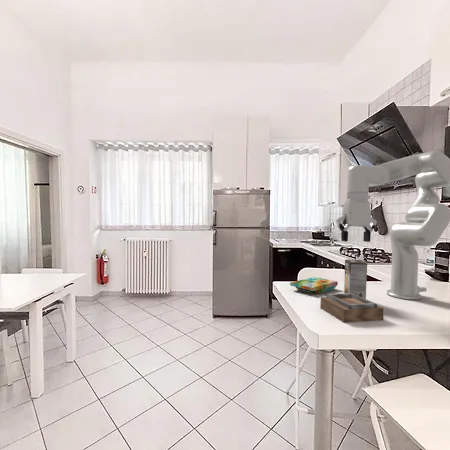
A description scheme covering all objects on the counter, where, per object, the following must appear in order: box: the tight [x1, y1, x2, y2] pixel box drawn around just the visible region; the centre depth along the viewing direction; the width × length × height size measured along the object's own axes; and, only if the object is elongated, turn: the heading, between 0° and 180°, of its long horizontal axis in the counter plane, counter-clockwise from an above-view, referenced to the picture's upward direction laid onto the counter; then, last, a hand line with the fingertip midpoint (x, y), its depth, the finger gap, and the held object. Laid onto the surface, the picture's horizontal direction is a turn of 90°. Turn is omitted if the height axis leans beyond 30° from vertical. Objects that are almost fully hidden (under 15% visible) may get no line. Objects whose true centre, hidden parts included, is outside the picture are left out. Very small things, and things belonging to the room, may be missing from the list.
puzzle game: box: [289, 276, 339, 295], centre depth 126 cm, size 12×5×20 cm
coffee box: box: [343, 259, 368, 300], centre depth 109 cm, size 9×6×16 cm
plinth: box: [319, 292, 385, 323], centre depth 94 cm, size 14×14×5 cm
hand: (355, 241), depth 108 cm, fingers open, 9 cm apart
